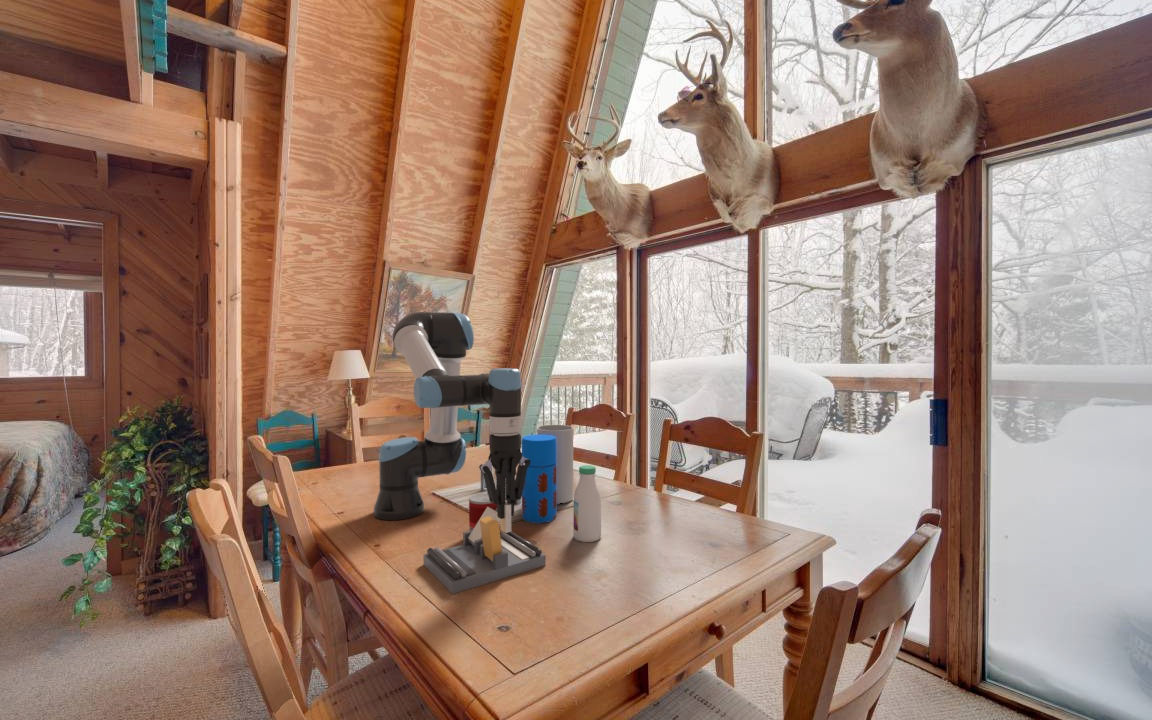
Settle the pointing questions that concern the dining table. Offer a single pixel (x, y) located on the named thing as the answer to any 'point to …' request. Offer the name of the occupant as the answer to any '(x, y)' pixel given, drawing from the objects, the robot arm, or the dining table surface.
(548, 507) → the thermos
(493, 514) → the block
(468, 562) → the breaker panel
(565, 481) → the cylinder vase
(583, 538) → the milk bottle
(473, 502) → the canned food
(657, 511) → the dining table surface
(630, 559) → the dining table surface
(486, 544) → the block
